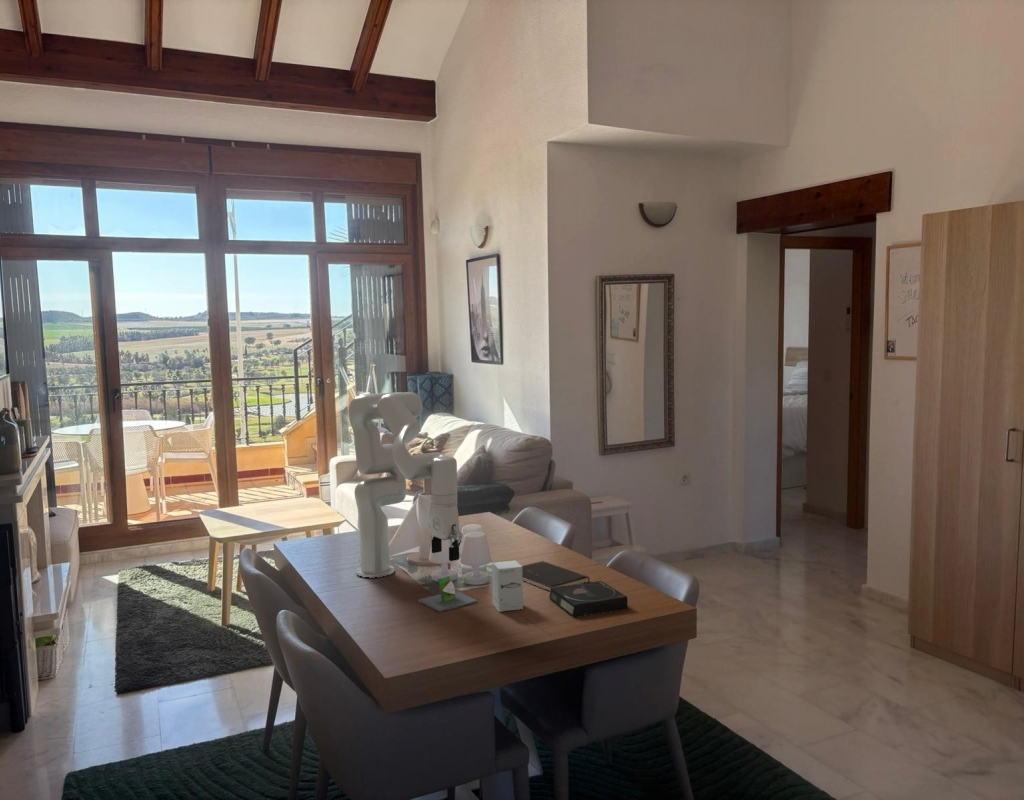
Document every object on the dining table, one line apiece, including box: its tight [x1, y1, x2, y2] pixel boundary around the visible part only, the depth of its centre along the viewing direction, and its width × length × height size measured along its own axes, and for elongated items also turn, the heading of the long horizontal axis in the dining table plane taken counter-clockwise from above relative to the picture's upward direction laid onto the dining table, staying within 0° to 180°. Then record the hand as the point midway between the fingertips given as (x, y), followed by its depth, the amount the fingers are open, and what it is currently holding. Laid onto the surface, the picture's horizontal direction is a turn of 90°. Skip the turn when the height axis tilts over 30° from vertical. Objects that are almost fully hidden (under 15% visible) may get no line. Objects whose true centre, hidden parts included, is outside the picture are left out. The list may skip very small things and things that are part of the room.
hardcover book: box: [521, 560, 590, 592], centre depth 256 cm, size 16×23×2 cm
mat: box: [417, 590, 478, 613], centre depth 235 cm, size 12×13×1 cm
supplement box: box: [491, 560, 524, 613], centre depth 229 cm, size 7×7×13 cm
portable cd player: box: [548, 580, 629, 618], centre depth 230 cm, size 16×17×4 cm
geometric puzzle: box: [433, 576, 460, 602], centre depth 235 cm, size 7×7×8 cm
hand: (445, 556), depth 234 cm, fingers open, 9 cm apart
